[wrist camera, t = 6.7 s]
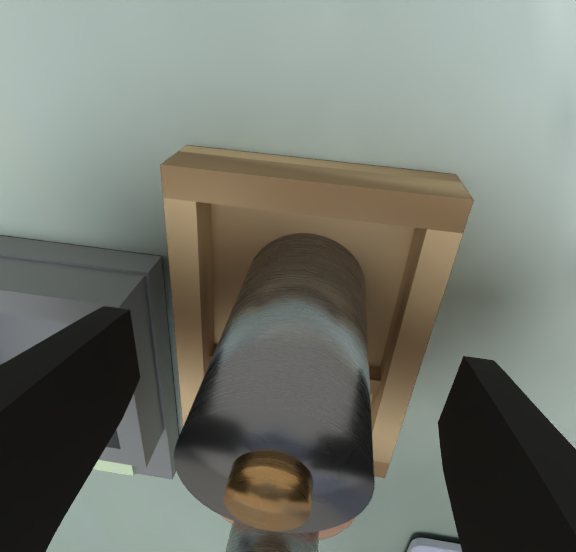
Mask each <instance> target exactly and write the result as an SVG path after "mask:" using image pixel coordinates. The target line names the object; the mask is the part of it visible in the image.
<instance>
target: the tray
mask: <svg viewBox="0 0 576 552" xmlns="http://www.w3.org/2000/svg"><path fill="white" fill-rule="evenodd" d="M160 166H161V178H162V189H163V201H164V212H165V224H166V235H167V247H168V258H169V270H170V281H171V293H172V304H173V316H174V327H175V339H176V350H177V362H178V373H179V385H180V396H181V408H182V419H183V426H184V424H185V421H186V419H187V416H188V414H189V412H190V409H191V407H192V404H193V402H194V400H195V397H196V395H197V392H198V390H199V388H200V385H201V383H202V381H203V378H204V376H205V373H206V371H207V369H208V366H209V364H210V361H211V359H212V357H213V354H214V352H215V349H216V347H217V345H218V342H219V340H220V337H221V335H222V333H223V330H224V328H225V325H226V323H227V321H228V318H229V316H230V313H231V311H232V309H233V306H234V304H235V301H236V299H237V297H238V294H239V292H240V289H241V287H242V285H243V282H244V280H245V278H246V275H247V273H248V270H249V268H250V266H251V263H252V261H253V259H254V258H255V256H256V255H257V253H258V252H259V251H260V250H261V249H262V248H263V247H264V246H266V245H267V244H268V243H270V242H272V241H273V240H275V239H278V238H280V237H283V236H286V235H290V234H298V233H308V234H316V235H320V236H324V237H327V238H329V239H332V240H334V241H336V242H338V243H339V244H341V245H342V246H344V247H345V248H346V249H347V250H348V251H349V252H350V253H351V254H352V255H353V256H354V257H355V258H356V260H357V261H358V263H359V265H360V267H361V269H362V271H363V275H364V279H365V292H366V313H367V334H368V356H369V377H370V398H371V419H372V440H373V461H374V476H376V477H382V478H385V476H386V473H387V469H388V466H389V463H390V460H391V457H392V454H393V451H394V448H395V444H396V441H397V438H398V435H399V432H400V429H401V426H402V422H403V419H404V416H405V413H406V410H407V407H408V404H409V401H410V397H411V394H412V391H413V388H414V385H415V382H416V379H417V376H418V372H419V369H420V366H421V363H422V360H423V357H424V354H425V351H426V347H427V344H428V341H429V338H430V335H431V332H432V329H433V326H434V322H435V319H436V316H437V313H438V310H439V307H440V304H441V301H442V297H443V294H444V291H445V288H446V285H447V282H448V279H449V276H450V272H451V269H452V266H453V263H454V260H455V257H456V254H457V251H458V247H459V244H460V241H461V238H462V235H463V232H464V229H465V226H466V222H467V219H468V216H469V213H470V210H471V207H472V204H473V201H474V200H473V198H472V197H471V195H470V194H469V193H468V191H467V190H466V188H465V187H464V185H463V184H462V183H461V181H460V180H459V178H458V177H457V175H454V174H445V173H436V172H427V171H418V170H409V169H399V168H390V167H381V166H372V165H363V164H353V163H344V162H335V161H326V160H317V159H307V158H298V157H289V156H280V155H271V154H261V153H252V152H243V151H234V150H225V149H215V148H206V147H197V146H188V145H187V146H185V147H184V148H182V149H181V150H180V151H178V152H177V153H176V154H174V155H173V156H171V157H170V158H169V159H167V160H166V161H165V162H163V163H162V164H161V165H160Z"/></svg>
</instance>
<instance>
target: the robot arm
mask: <svg viewBox="0 0 576 552" xmlns="http://www.w3.org/2000/svg"><path fill="white" fill-rule="evenodd" d="M139 380H140V371H139V365H138V358H137V351H136V345H135V338H134V332H133V325H132V319H131V312H130V310H129V309H121V308H114V307H107V306H103V307H101V308H99V309H97V310H95V311H93V312H91V313H90V314H88V315H86V316H84V317H83V318H81V319H79V320H77V321H76V322H74V323H72V324H70V325H69V326H67V327H65V328H64V329H62V330H60V331H58V332H57V333H55V334H53V335H52V336H50V337H48V338H47V339H45V340H43V341H41V342H40V343H38V344H36V345H34V346H33V347H31V348H29V349H27V350H26V351H24V352H22V353H20V354H19V355H17V356H15V357H14V358H12V359H10V360H8V361H6V362H5V363H3V364H1V365H0V552H46V550H47V548H48V546H49V544H50V542H51V540H52V538H53V536H54V534H55V532H56V531H57V529H58V527H59V525H60V523H61V522H62V520H63V518H64V516H65V514H66V513H67V511H68V509H69V508H70V506H71V504H72V503H73V501H74V499H75V498H76V496H77V494H78V493H79V491H80V489H81V488H82V486H83V484H84V483H85V481H86V479H87V478H88V476H89V474H90V473H91V471H92V469H93V468H94V466H95V465H96V463H97V461H98V460H99V458H100V456H101V455H102V453H103V451H104V449H105V448H106V446H107V444H108V443H109V441H110V439H111V438H112V436H113V434H114V433H115V431H116V429H117V427H118V426H119V424H120V422H121V420H122V419H123V417H124V414H125V412H126V410H127V408H128V406H129V403H130V401H131V399H132V396H133V394H134V392H135V389H136V387H137V385H138V382H139ZM438 427H439V438H440V448H441V457H442V465H443V472H444V476H445V481H446V485H447V490H448V494H449V498H450V503H451V507H452V511H453V515H454V520H455V524H456V528H457V532H458V537H459V541H460V544H457V543H451V542H445V541H439V540H433V539H427V538H416V539H414V540H412V542H411V543H410V545H409V548H408V550H407V552H576V449H575V448H574V447H573V446H572V445H571V444H570V443H569V442H568V441H567V440H566V438H565V437H564V436H563V435H562V434H561V433H560V432H559V431H558V430H557V429H556V428H555V427H554V426H553V424H552V423H551V422H550V421H549V420H548V419H547V418H546V417H545V416H544V415H543V414H542V412H541V411H540V410H539V409H538V408H537V407H536V406H535V405H534V404H533V403H532V401H531V400H530V399H529V398H528V397H527V396H526V395H525V394H524V393H523V391H522V390H521V389H520V388H519V387H518V386H517V385H516V384H515V383H514V381H513V380H512V379H511V378H510V377H509V376H508V375H507V374H506V373H505V372H504V371H503V369H502V368H501V367H500V366H499V365H498V364H497V363H496V362H495V361H494V360H487V359H480V358H473V357H466V356H463V359H462V362H461V364H460V367H459V369H458V372H457V375H456V377H455V380H454V382H453V385H452V388H451V390H450V393H449V395H448V398H447V401H446V403H445V406H444V408H443V411H442V414H441V416H440V419H439V421H438Z"/></svg>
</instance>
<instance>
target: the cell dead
mask: <svg viewBox="0 0 576 552" xmlns="http://www.w3.org/2000/svg"><path fill="white" fill-rule="evenodd" d="M318 542H319V531H316V532H309V533H282V532H273V531H267V530H262V529H257V528H253V527H250V526H246V525H243V524H240V523H238V522H235V521H233V523H232V527H231V531H230V535H229V540H228V544H227V548H226V552H318Z"/></svg>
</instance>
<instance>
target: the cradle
mask: <svg viewBox="0 0 576 552" xmlns="http://www.w3.org/2000/svg"><path fill="white" fill-rule="evenodd" d="M103 306H107V307H114V308H121V309H129V310H130V312H131V319H132V325H133V332H134V338H135V345H136V351H137V358H138V365H139V371H140V380H139V382H138V385H137V387H136V389H135V392H134V394H133V396H132V399H131V401H130V403H129V406H128V408H127V410H126V412H125V414H124V417H123V419H122V420H121V422H120V424H119V426H118V427H117V429H116V431H115V433H114V434H113V436H112V438H111V439H110V441H109V443H108V444H107V446H106V448H105V449H104V451H103V453H102V455H101V456H100V458H99V460H98V461H97V463H96V465H95V466H94V468H93V469H96V470H102V471H108V472H114V473H120V474H126V475H132V476H134V474H135V473H137V474H143V475H149V476H155V477H161V478H167V479H173V477H174V475H175V472H176V468H175V463H174V450H175V446H176V443H177V440H178V438H179V433H178V423H177V413H176V402H175V392H174V382H173V371H172V361H171V351H170V340H169V330H168V320H167V309H166V299H165V289H164V278H163V268H162V258H161V256H154V255H147V254H139V253H131V252H123V251H116V250H108V249H100V248H92V247H85V246H77V245H69V244H61V243H54V242H46V241H38V240H30V239H23V238H15V237H7V236H0V365H1V364H3V363H5V362H6V361H8V360H10V359H12V358H14V357H15V356H17V355H19V354H20V353H22V352H24V351H26V350H27V349H29V348H31V347H33V346H34V345H36V344H38V343H40V342H41V341H43V340H45V339H47V338H48V337H50V336H52V335H53V334H55V333H57V332H58V331H60V330H62V329H64V328H65V327H67V326H69V325H70V324H72V323H74V322H76V321H77V320H79V319H81V318H83V317H84V316H86V315H88V314H90V313H91V312H93V311H95V310H97V309H99V308H101V307H103Z"/></svg>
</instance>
